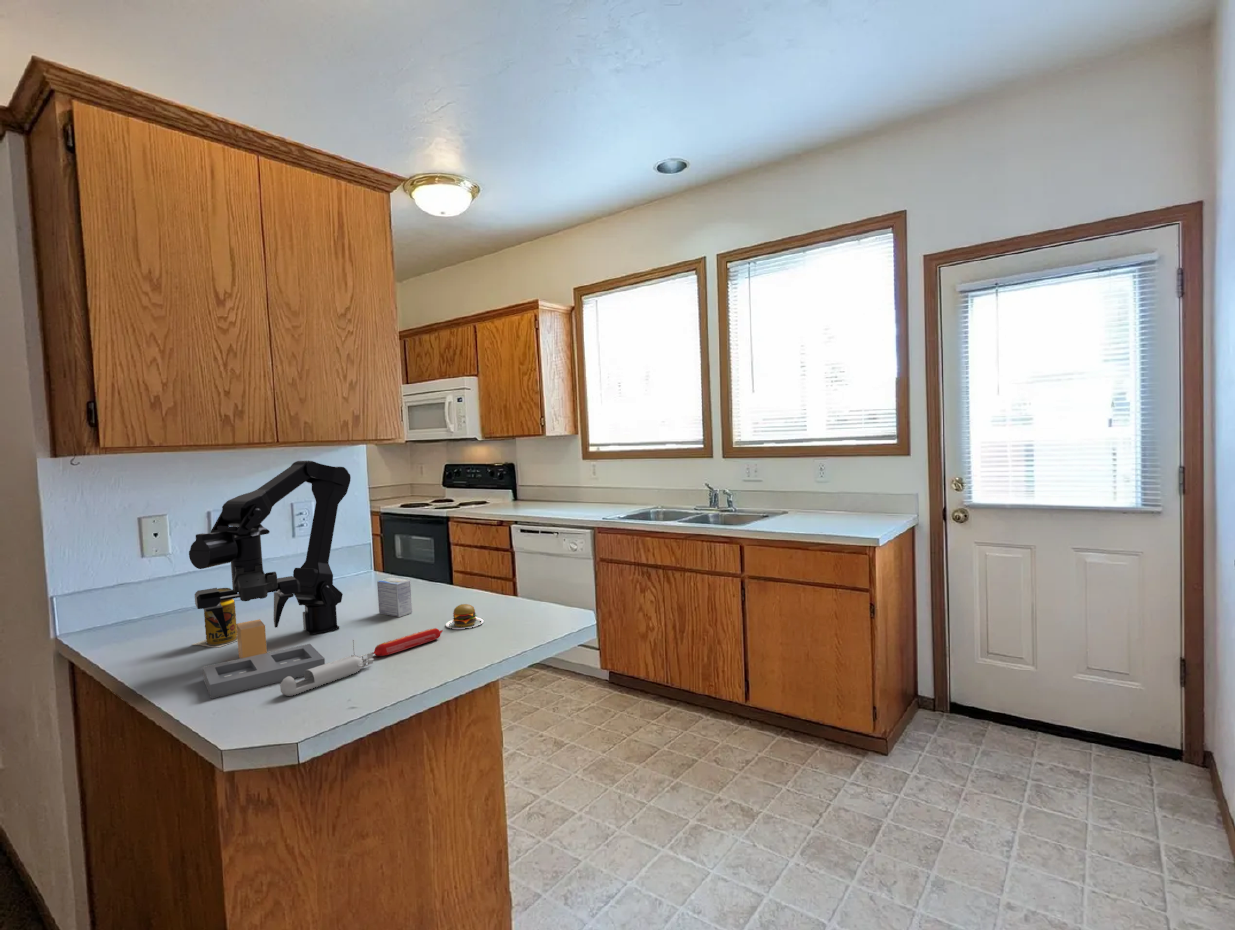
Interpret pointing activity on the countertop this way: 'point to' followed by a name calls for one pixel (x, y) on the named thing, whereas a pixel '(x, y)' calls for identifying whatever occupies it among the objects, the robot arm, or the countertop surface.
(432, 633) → the red sausage
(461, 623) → the hamburger
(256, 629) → the plug
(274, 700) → the countertop surface
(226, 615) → the condiment
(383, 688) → the countertop surface
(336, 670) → the torpedo
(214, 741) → the countertop surface
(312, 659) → the socket plate
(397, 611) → the medicine box
